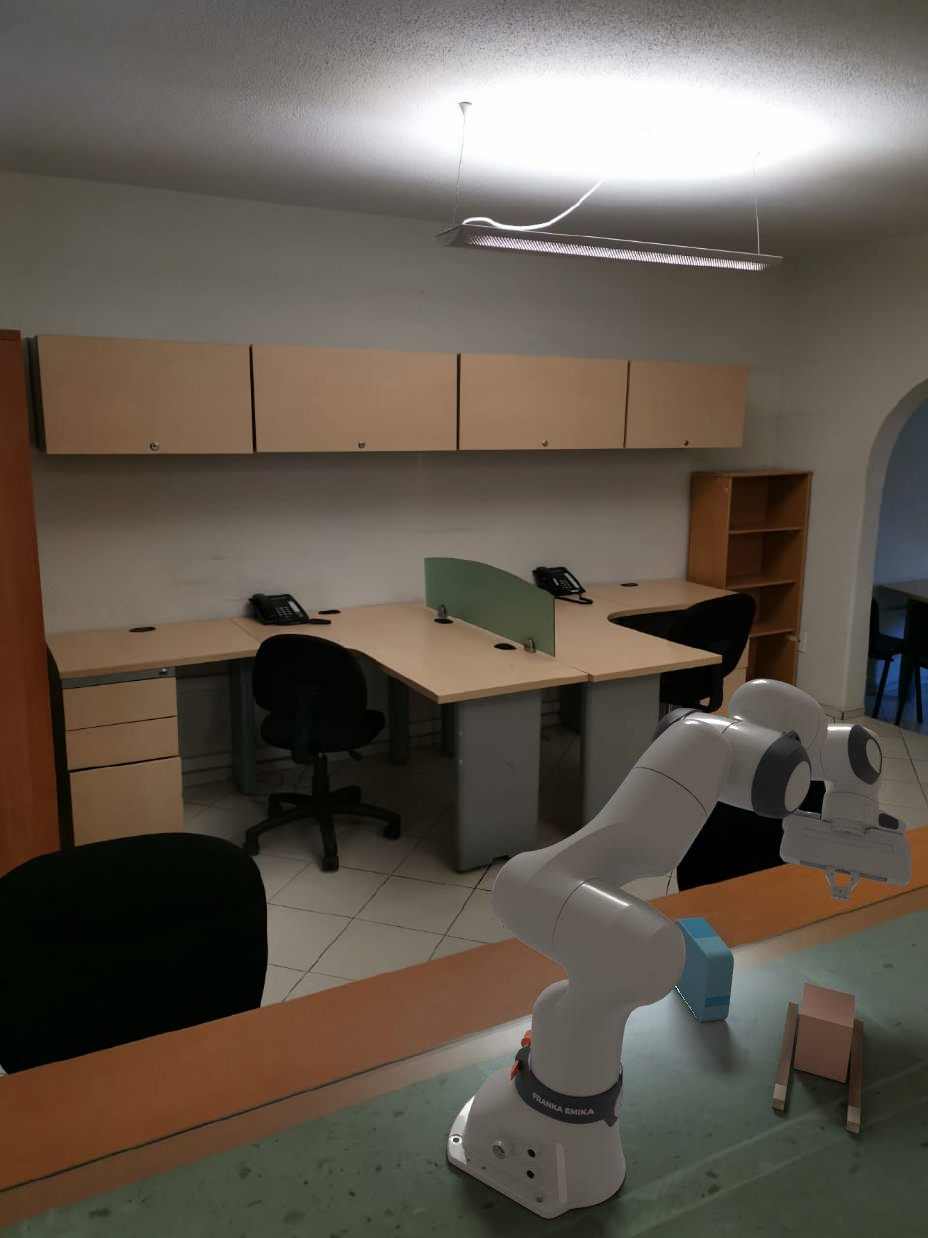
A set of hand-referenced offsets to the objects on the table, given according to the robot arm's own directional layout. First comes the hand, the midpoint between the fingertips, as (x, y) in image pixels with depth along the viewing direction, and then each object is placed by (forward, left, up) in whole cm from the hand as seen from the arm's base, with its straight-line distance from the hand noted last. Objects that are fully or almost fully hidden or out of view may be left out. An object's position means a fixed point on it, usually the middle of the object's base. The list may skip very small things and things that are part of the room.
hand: (839, 898), depth 151 cm
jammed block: (0, -20, -16) cm, 26 cm away
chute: (0, -21, -16) cm, 27 cm away
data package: (-19, -14, -16) cm, 29 cm away
